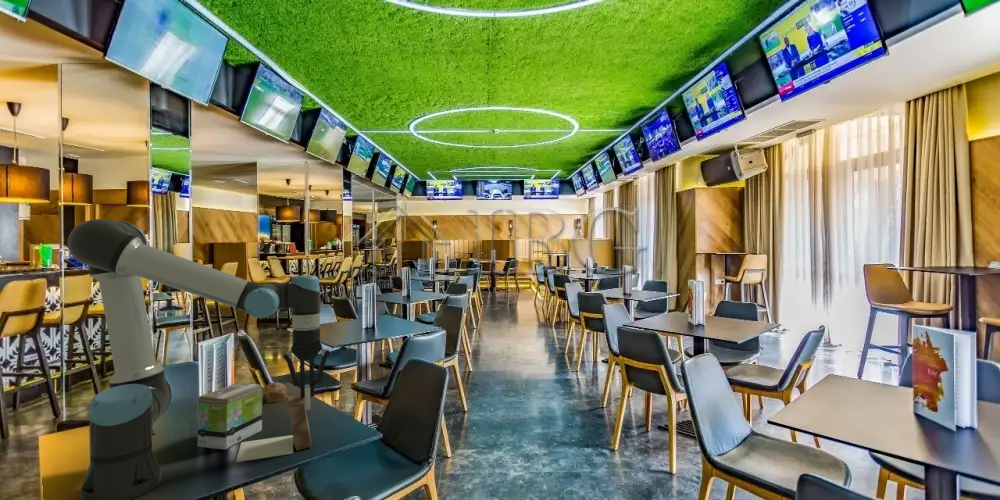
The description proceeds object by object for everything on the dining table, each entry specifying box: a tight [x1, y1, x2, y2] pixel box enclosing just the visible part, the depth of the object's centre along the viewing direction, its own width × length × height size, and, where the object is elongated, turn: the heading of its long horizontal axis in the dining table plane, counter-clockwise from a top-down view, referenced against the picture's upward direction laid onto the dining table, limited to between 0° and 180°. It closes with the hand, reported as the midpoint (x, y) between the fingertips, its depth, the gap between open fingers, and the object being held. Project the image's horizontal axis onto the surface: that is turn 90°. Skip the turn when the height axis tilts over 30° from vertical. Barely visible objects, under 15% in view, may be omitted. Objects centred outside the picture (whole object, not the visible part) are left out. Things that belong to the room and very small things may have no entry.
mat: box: [235, 434, 294, 463], centre depth 137 cm, size 14×13×1 cm
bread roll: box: [262, 381, 289, 404], centre depth 181 cm, size 10×10×8 cm
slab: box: [287, 392, 312, 452], centre depth 140 cm, size 4×10×13 cm, turn 23°
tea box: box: [197, 382, 263, 450], centre depth 144 cm, size 15×10×15 cm, turn 168°
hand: (307, 408), depth 141 cm, fingers closed
